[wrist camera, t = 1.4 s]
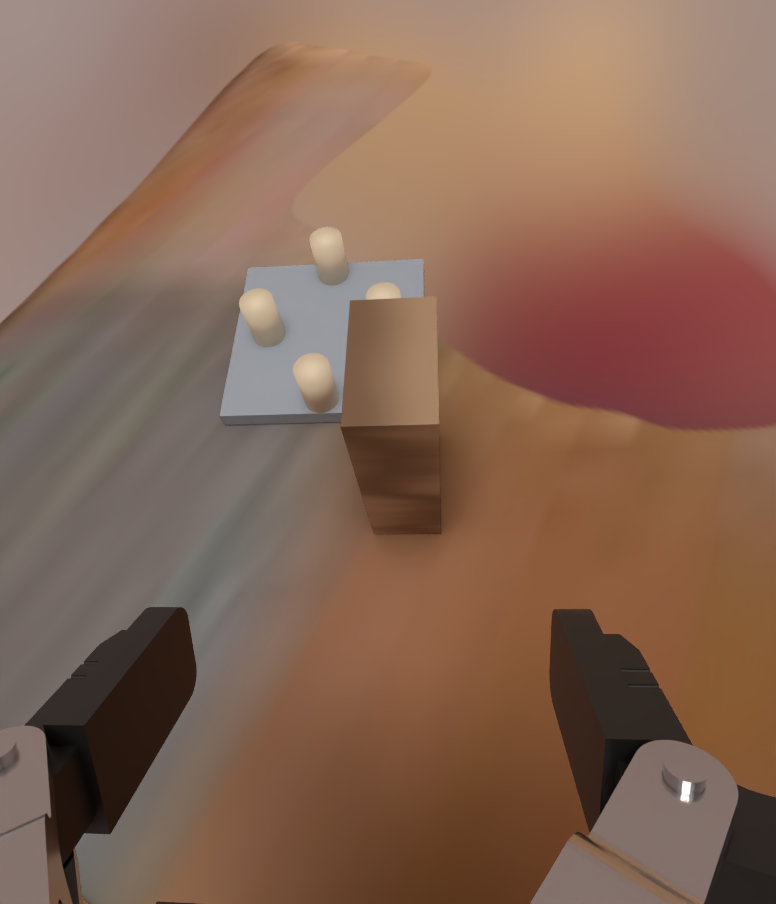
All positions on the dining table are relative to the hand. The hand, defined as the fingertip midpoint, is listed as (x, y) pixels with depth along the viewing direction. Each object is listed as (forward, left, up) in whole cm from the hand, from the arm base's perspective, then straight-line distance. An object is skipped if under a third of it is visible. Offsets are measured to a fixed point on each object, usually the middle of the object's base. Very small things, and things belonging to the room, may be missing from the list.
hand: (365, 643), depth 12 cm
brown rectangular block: (0, -11, -15) cm, 19 cm away
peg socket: (+5, -21, -15) cm, 27 cm away
